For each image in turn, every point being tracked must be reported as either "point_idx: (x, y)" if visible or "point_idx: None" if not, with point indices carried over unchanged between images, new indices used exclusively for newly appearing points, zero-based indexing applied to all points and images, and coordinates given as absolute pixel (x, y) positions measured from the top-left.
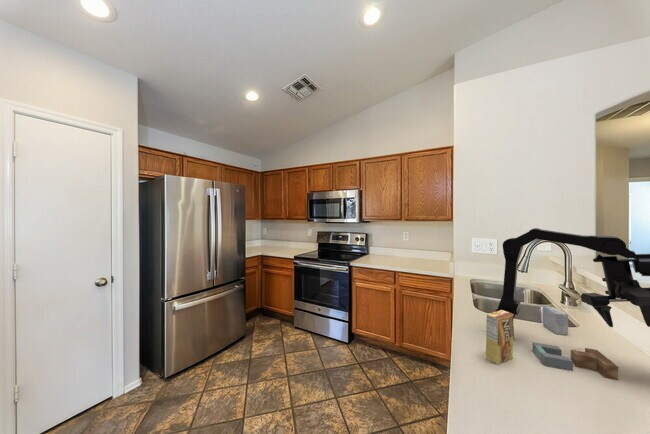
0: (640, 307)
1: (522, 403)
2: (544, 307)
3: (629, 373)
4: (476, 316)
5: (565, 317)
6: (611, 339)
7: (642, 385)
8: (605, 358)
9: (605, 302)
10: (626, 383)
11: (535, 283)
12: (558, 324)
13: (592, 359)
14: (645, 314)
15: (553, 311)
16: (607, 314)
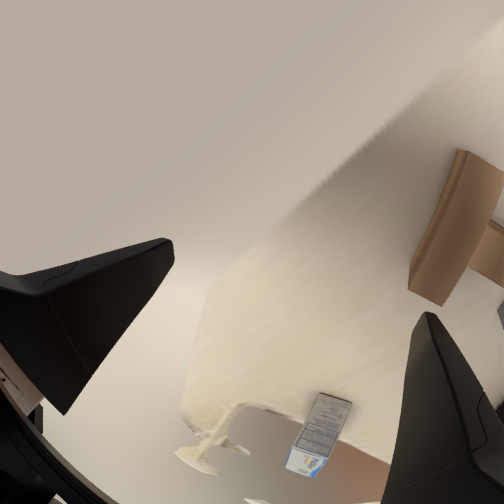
0: (87, 373)
1: None
2: (314, 476)
3: (368, 190)
4: None
5: (304, 440)
6: (223, 351)
7: (398, 119)
8: (454, 220)
9: None
10: (445, 130)
11: (191, 464)
12: (335, 426)
13: (495, 229)
14: (108, 316)
15: (318, 464)
16: (490, 420)
